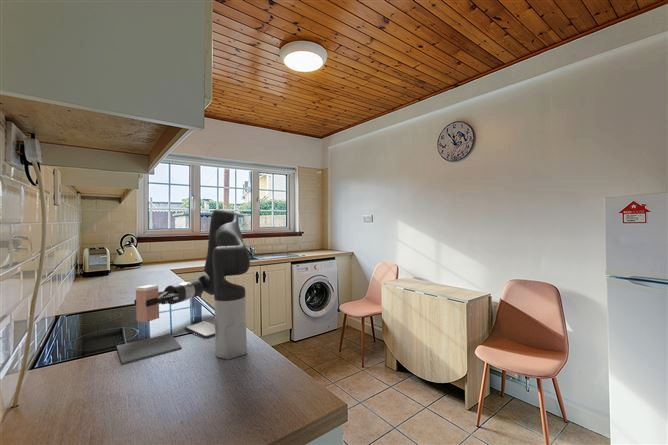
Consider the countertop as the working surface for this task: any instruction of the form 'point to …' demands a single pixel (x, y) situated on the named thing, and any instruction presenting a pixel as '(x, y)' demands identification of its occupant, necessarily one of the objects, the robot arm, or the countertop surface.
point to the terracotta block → (141, 297)
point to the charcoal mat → (147, 348)
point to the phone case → (202, 329)
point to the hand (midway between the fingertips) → (140, 303)
